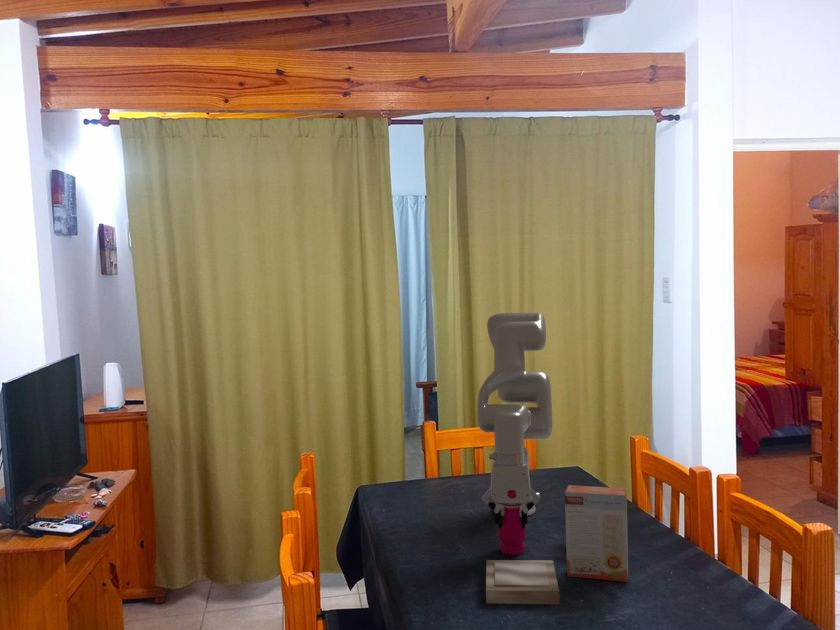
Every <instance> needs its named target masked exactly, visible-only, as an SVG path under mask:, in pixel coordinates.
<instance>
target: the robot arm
mask: <svg viewBox="0 0 840 630" xmlns="http://www.w3.org/2000/svg"><path fill="white" fill-rule="evenodd" d="M486 328H487V334H488V337H489V339H490V340H489V341H490V343H491V345H492V348H493V351H494V356H493V357H494V361H493V371H492V373H490V374H489V376H488V377H486V378H485V380H484V381H483V383H482V384H481V386H480V388H479V392H478V394H477V395H478V397H477V413H476V414H477V415H476V417H477V425H478V428H479V430H480V431H482V432H485V433H494V452H493V453H489V460H492V461H494V462H493V463H492V465H491V475H490V487H489V488H488V489H487V490H486V492H485V493H484V494H483V495H482V497H481V501H482V502H484V503H485V504H486V505H487V506H488V507H489V508H490V509H491V510H492V511H493V512H494V513H495V525H498V529H499V528H501V523H502V517H504V506H503V505H502V504H521V506H520V517H521V520H522V527H523V529H525V530H526V527H525V526H526V525H528V516H532V515H533V514H535V513H536V504H537V503H539V502H541V495H540V493H539V492H538V491H535V490H534V489H533V487H531V479H530V454H529V451H528V449H527V447H526V446H525V440H545V439H548V438H550V437H551V436H552V433H553V411H552V410H553V408H552V403H553V402H552V387H551V386H552V385H551V381H550V377H549V376H548V374H547V373H546V372H544V371H538V370H537V371H536V370H535V371H532V370H531V371H530V370H529V371H527V370H526V357H525V352H528V351H529V352H530V351H531V352H533V351H535V352H536V351H537V352H538V351H541V350H542V351H543V349H544V347H545V346H546V341H547V331H546V330H547V328H546V319H545V317H544V315H543V314H542V313H541V312H505V313H504V312H503V313H501V312H500V313H496V314H493V315H491V316H489V317H488V319H487V323H486ZM495 391H497V396H498V398H499V399H500V401H501V402H503V403H504V404H503V403H501V404H500V403H499V404H497V403H495V404H489V403H488V402H489V400H490V399H489V398H490V396H491V395H492V394H493V393H494V392H495ZM505 403H506V404H505ZM508 403H509V404H508ZM524 404H535V406H526V405H524ZM509 490H515V491H516V497H515V498H514V499H511V498H509V497H508V495H507V494H508V493H507V492H508V491H509ZM490 498H491V499H490Z"/></svg>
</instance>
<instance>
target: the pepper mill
mask: <svg viewBox="0 0 840 630" xmlns="http://www.w3.org/2000/svg"><path fill="white" fill-rule="evenodd" d="M507 493H508V494H507V495H508V497H509V498H511V499H514V498H515V497H516V491H515V490H509V491H508V492H507ZM502 505H503V506H504V516H503V518H502V520H501V528H498V538H499V539H500V541H501V542H500V549H499V550H500V552H502V553H503V554H505V555H508V556H509V555H510V556H518V555H521V554H523V553H524V552H525V549H526V548H525V542H524V541H525V540H526V539H527V531H526V528H525V529H523V527H522V517H520V506H521V504H502Z"/></svg>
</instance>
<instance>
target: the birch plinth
mask: <svg viewBox="0 0 840 630" xmlns="http://www.w3.org/2000/svg"><path fill="white" fill-rule="evenodd" d="M485 563H486V564H485V566H486V569H485V570H486V571H485V572H486V574H485V598H486V599H485V602H486V604H504V605H506V604H509V605H511V604H513V605H516V604H517V605H519V604H520V605H560V589H559V584H558V578H557V574H556V569H555V564H554V560H540V559H539V560H537V559H536V560H534V559H533V560H532V559H531V560H522V559H521V560H520V559H519V560H518V559H517V560H516V559H515V560H513V559H511V560H509V559H506V560H505V559H498V560H497V559H494V560H493V559H486V562H485Z"/></svg>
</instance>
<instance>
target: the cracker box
mask: <svg viewBox="0 0 840 630" xmlns="http://www.w3.org/2000/svg"><path fill="white" fill-rule="evenodd" d="M627 497H628V496H627V488H623V487H609V486H608V487H606V486H589V485H587V486H586V485H573V484H572V485H571V484H570V485H569V484H568V485H567V487H566V489H565V492H564V504H565V505H564V508H565V509H564V510H565V513H564V514H565V516H564V518H565V549H566V555H565V556H566V576H567V577H571V578H572V577H574V578H581V579H593V580H600V581H601V580H602V581H603V580H605V581H611V582H612V581H613V582H620V583H621V582H623V583H626V582H628V578H629V544H628V543H629V542H628V541H629V540H628V539H629V538H628V537H629V535H628V505H627V504H628V503H627V501H628V499H627Z"/></svg>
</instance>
